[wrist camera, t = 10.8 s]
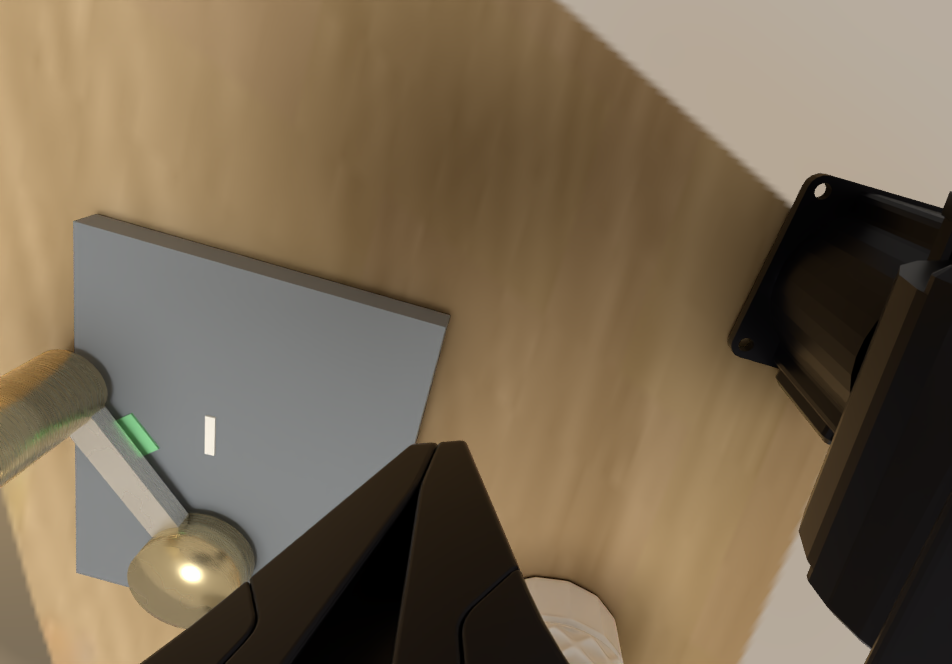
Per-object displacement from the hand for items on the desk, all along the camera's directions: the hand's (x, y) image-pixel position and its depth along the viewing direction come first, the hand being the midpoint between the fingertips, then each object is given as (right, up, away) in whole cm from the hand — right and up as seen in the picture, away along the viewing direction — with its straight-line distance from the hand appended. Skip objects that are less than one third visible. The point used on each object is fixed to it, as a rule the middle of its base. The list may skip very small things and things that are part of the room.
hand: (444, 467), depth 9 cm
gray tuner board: (-9, -3, +16) cm, 19 cm away
